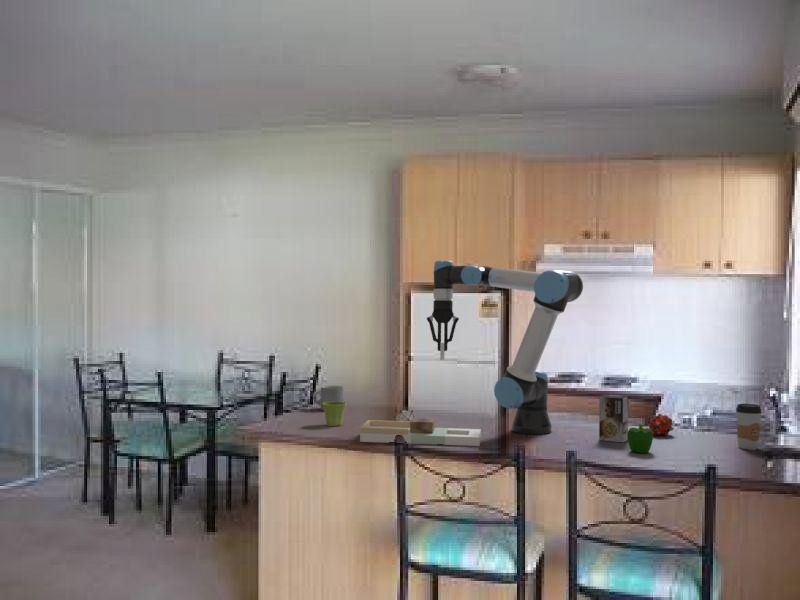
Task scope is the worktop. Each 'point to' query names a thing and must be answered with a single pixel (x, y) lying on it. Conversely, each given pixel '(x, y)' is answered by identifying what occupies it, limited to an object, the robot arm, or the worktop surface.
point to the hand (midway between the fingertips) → (442, 359)
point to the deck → (417, 434)
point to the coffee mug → (329, 395)
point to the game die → (404, 416)
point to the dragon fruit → (660, 425)
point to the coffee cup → (748, 425)
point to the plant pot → (334, 413)
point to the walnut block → (422, 425)
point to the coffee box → (613, 418)
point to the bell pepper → (640, 439)
